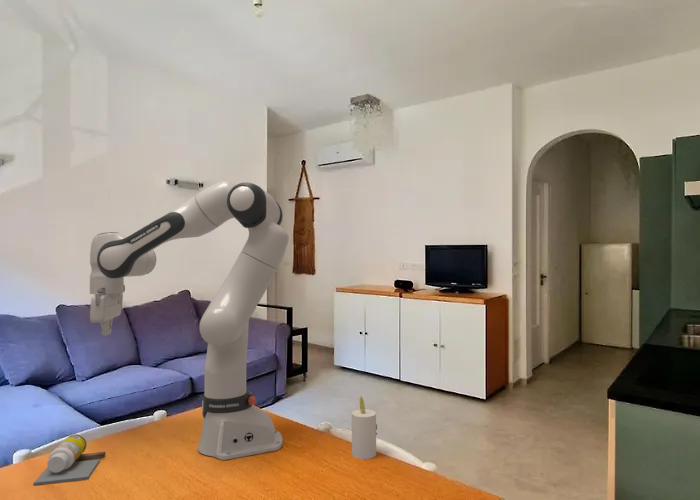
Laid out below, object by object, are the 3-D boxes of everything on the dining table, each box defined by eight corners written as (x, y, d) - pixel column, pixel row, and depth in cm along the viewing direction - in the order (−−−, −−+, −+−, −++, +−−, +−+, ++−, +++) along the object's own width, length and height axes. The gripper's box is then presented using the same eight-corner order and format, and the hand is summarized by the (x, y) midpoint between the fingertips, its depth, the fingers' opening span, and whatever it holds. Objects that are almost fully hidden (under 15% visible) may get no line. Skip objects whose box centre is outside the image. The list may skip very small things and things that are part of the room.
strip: (105, 456, 118) (105, 451, 118) (103, 458, 117) (103, 454, 117) (53, 461, 115) (53, 456, 115) (50, 464, 114) (50, 459, 114)
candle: (380, 457, 116) (380, 397, 117) (356, 460, 114) (355, 400, 115) (372, 447, 122) (371, 391, 123) (349, 450, 120) (348, 393, 121)
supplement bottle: (72, 458, 116) (52, 480, 106) (60, 441, 116) (38, 461, 106) (92, 446, 117) (73, 467, 107) (79, 428, 116) (59, 448, 106)
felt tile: (99, 461, 115) (100, 459, 115) (87, 479, 105) (87, 476, 105) (50, 466, 112) (50, 464, 112) (33, 485, 103) (33, 482, 103)
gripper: (109, 288, 125) (108, 339, 125) (126, 285, 145) (125, 329, 144) (83, 289, 124) (83, 340, 123) (104, 286, 143) (103, 330, 143)
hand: (106, 334), depth 134 cm, fingers closed
